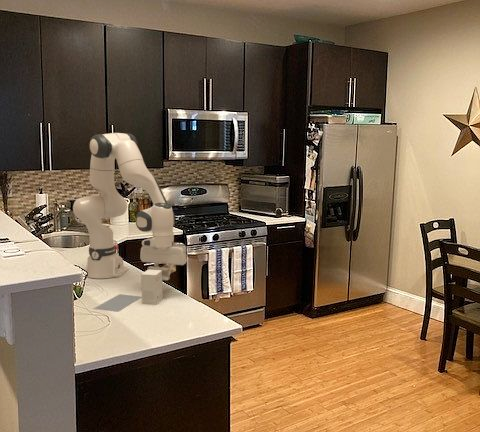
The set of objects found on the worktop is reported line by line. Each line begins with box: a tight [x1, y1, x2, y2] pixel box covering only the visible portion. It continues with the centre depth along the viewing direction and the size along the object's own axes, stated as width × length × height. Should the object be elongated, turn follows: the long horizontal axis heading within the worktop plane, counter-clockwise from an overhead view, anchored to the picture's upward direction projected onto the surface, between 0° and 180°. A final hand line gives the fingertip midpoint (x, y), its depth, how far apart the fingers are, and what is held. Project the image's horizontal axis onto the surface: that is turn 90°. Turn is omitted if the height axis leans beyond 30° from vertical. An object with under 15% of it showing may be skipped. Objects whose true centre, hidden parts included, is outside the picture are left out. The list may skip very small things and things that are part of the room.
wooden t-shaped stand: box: [146, 264, 177, 281], centre depth 224 cm, size 16×9×4 cm, turn 163°
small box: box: [140, 269, 164, 306], centre depth 213 cm, size 8×6×13 cm
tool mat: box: [93, 293, 142, 313], centre depth 212 cm, size 20×11×1 cm, turn 163°
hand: (163, 273), depth 223 cm, fingers closed on wooden t-shaped stand, 3 cm apart
